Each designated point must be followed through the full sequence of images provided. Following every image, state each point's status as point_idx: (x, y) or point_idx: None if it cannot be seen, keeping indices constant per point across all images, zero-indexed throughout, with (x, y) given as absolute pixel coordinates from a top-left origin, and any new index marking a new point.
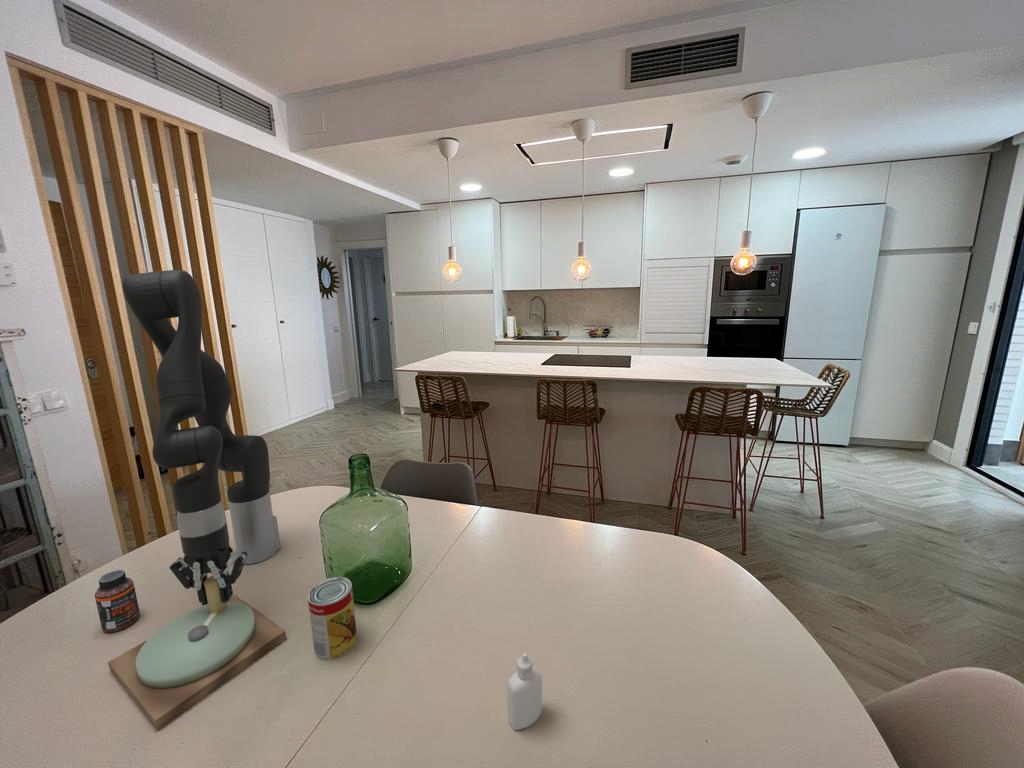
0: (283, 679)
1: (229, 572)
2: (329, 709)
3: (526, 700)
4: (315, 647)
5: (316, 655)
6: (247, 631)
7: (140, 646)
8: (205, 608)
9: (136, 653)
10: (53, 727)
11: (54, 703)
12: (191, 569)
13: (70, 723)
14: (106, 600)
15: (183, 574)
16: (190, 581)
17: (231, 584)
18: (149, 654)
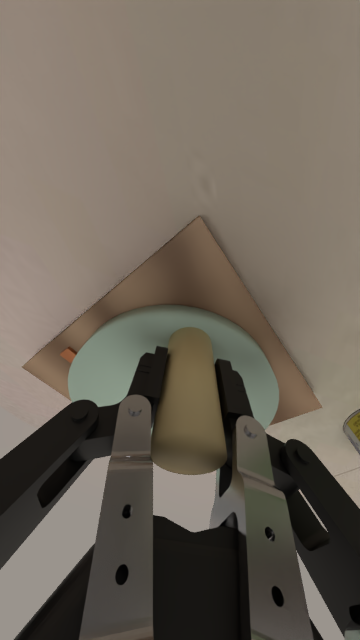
0: None
1: (270, 471)
2: None
3: None
4: (354, 446)
5: (344, 431)
6: (264, 428)
7: (54, 351)
8: (152, 330)
9: (60, 366)
10: (41, 410)
11: (5, 381)
12: (28, 489)
13: (57, 412)
14: None
15: (23, 538)
16: (83, 458)
17: (251, 410)
18: None
